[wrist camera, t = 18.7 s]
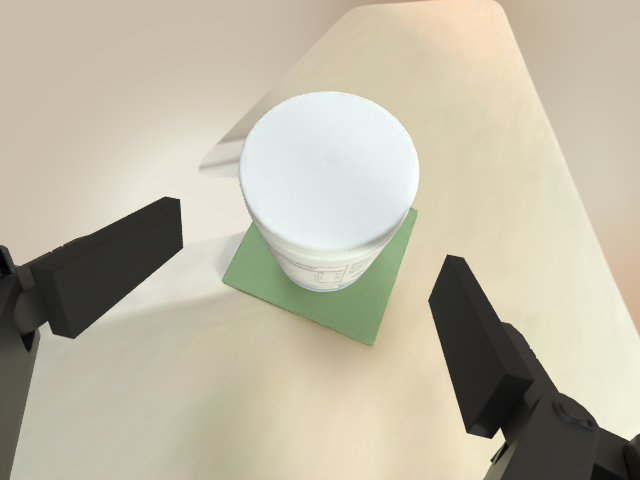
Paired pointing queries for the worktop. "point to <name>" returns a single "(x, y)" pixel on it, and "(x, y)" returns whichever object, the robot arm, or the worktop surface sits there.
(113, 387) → the worktop surface
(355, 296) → the mat
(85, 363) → the worktop surface
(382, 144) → the supplement tub
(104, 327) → the worktop surface
